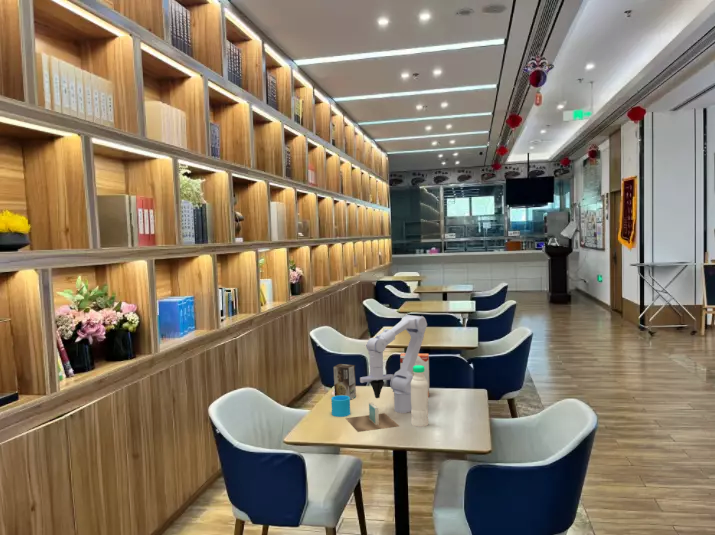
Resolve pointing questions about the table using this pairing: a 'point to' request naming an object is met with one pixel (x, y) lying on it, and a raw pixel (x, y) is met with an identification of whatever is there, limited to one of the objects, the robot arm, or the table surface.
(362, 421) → the board
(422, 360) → the cracker box
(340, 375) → the coffee box
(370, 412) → the tile
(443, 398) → the table surface
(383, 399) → the table surface
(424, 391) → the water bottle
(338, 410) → the mug
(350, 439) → the table surface
